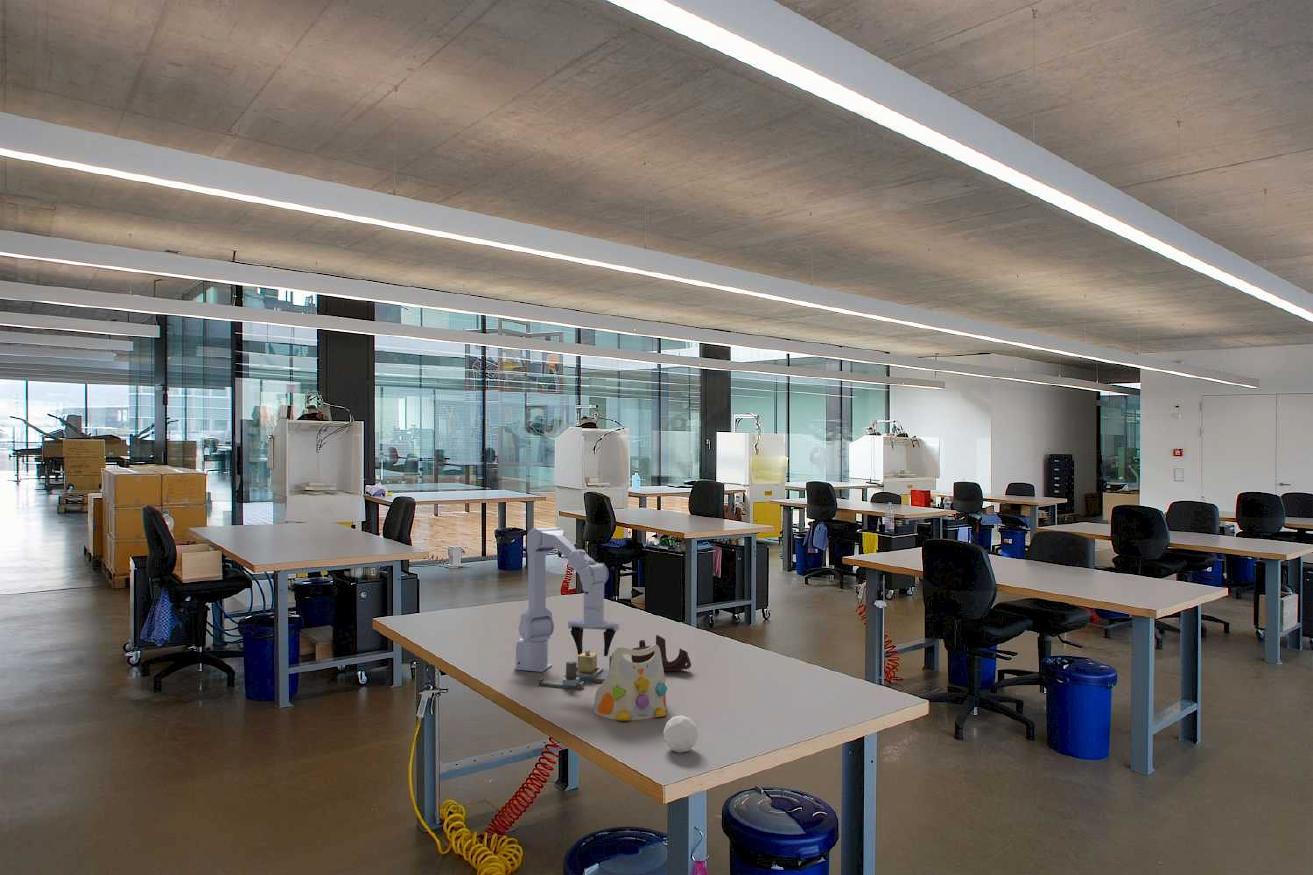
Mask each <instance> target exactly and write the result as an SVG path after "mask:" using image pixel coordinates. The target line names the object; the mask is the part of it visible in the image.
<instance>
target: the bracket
mask: <svg viewBox="0 0 1313 875" xmlns="http://www.w3.org/2000/svg"><path fill="white" fill-rule="evenodd" d="M638 644H639V646H638V647H633V648H632V650H643V649H647V648H649V647H651V646H652V645H646V641H645V639H642V640H639V641H638ZM655 644H656V645H658V646H659V648H660V652H661V658H662V664H663V670H664V671H667V672H673V671H681V670H689V669H690V668H691V666H692V661H691V660H690V657H689V652H688V651H686V650H684V649H683V648H679V651H678V655H677V657H676V658H675V659H674V660H672V661H669V660H668V658H667V648H666V638H663V637H662V636H660V635H658V634H656V636H655ZM630 656H631V657H630V658H631V662H634V663H643V662H646V661H648V660H650V659H651V658H652V657H653V656H654V651H653V652H651V653H649V654H647V655H643V656H633V655H630Z"/></svg>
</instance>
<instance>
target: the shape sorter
mask: <svg viewBox="0 0 1313 875" xmlns="http://www.w3.org/2000/svg"><path fill="white" fill-rule="evenodd" d="M650 646H651V647H649V648H647V649H643V650H632V649H633V648H632V649H630V648H628V647H624V646H619V647H617V648H616V649H615V650H614V651H613V652H614V653H613V652H612V653H613V656H612V659H611V664H610V669H608V670H609V672H608V675H607V677H606V679H605V680H604V682H603V683H600V685H599V686H598V688H597V690H596V693H595V695H594V702H593V703H594V705H593V708H594V709H593V710H594V714H595V715H598V716H600V717H602V718H606V719H608V720H609V719H610V720H614V721H615V720H616V721H625V722H626V721H631V722H632V721H639V720H640V721H641V720H647V719H648V720H649V719H654V718H661V717H666V716H667V712H666V711H667V699H666V698H667V696H666V692H667V691H668V687H667V685H666V678H665V677H666V676H665V672H664V671H665V669H664V668H663V664H662V658H661V652H660V648H659V646H658V645H656V643H655V644H652V645H650ZM653 651H654V656H653V657H652V658H651V659H650V660H648V661H646V662H643V663H634V662H632V660H631V661H630V660H628V659H627V658H626V657H625V658H624V655H625V654H626V655H629V656H631V655H633V656H643V655H647V654H649V653H651V652H653Z"/></svg>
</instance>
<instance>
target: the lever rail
mask: <svg viewBox="0 0 1313 875" xmlns="http://www.w3.org/2000/svg"><path fill="white" fill-rule="evenodd" d="M562 684H563V681H562V682H561V681H552V680H544V677H541V678H539V679H538V686H540V687H549V688H558V689H559V688H562V689H573V690H579V689H580V690H582V689H584V688H585V682H583V681H580V683H579V684H578V685H576V686H570V685H562Z"/></svg>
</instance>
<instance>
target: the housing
mask: <svg viewBox="0 0 1313 875" xmlns="http://www.w3.org/2000/svg"><path fill="white" fill-rule="evenodd" d="M577 666H578V671H577V673H582V674H594V673H596V672H597V666H598V653H595V652H591V650H589V649H586V650H584V651H582V654H581V655H578V654H577Z"/></svg>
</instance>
